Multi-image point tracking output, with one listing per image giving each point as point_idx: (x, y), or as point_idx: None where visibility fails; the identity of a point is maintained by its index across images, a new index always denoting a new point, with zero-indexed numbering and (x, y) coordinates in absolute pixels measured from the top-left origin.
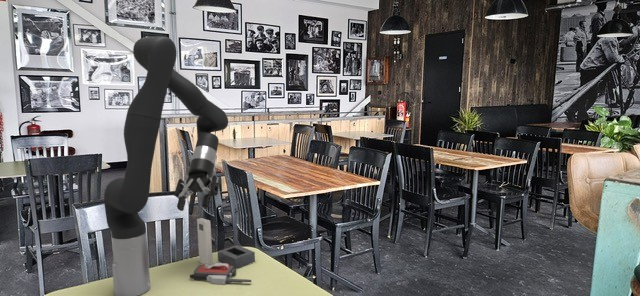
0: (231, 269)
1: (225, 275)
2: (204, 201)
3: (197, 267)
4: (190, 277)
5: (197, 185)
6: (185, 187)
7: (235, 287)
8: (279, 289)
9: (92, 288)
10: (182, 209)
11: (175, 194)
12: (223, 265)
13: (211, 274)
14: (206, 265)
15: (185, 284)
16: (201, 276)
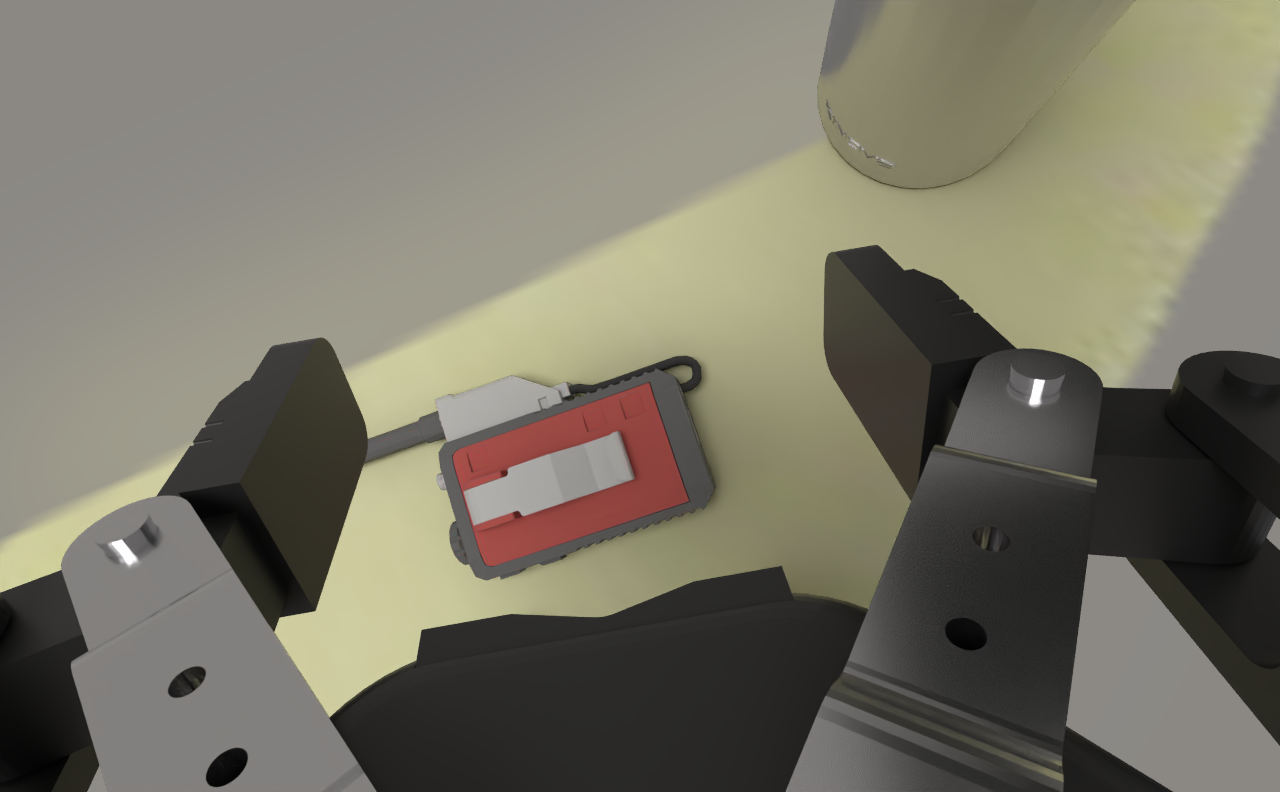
0: (454, 514)
1: (455, 439)
2: (245, 392)
3: (687, 432)
4: (685, 356)
5: (510, 756)
6: (1011, 533)
7: (373, 401)
8: (142, 486)
9: None
10: (828, 341)
11: (1238, 363)
12: (483, 483)
13: (544, 408)
14: (610, 446)
15: (675, 300)
16: (613, 384)
